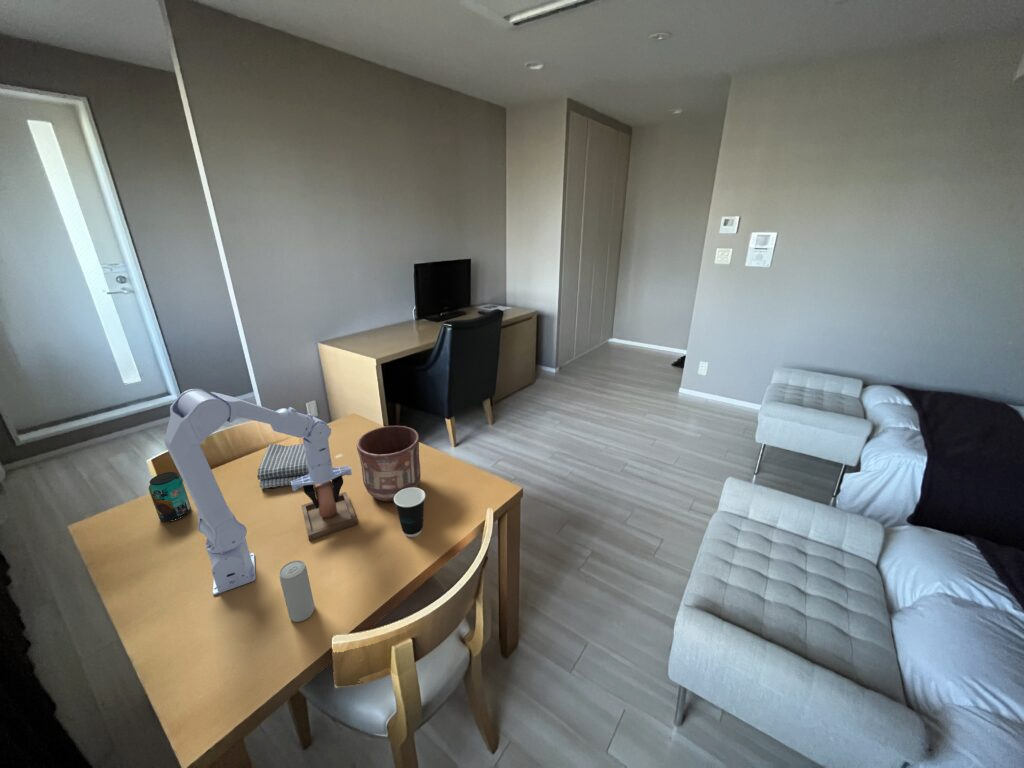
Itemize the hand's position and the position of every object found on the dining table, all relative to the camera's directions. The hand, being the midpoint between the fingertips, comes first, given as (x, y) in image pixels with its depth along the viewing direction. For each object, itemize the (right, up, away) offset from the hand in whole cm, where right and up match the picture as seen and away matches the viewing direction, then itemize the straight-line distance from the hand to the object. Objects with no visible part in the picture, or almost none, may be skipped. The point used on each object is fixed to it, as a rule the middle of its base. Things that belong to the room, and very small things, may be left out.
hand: (326, 503), depth 111 cm
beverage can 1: (-43, -4, +2) cm, 43 cm away
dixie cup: (+24, -7, -3) cm, 25 cm away
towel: (-22, +3, +22) cm, 31 cm away
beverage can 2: (+7, -16, -26) cm, 31 cm away
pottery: (+14, 0, +14) cm, 20 cm away
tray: (0, -4, +2) cm, 5 cm away
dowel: (0, -3, +1) cm, 3 cm away
